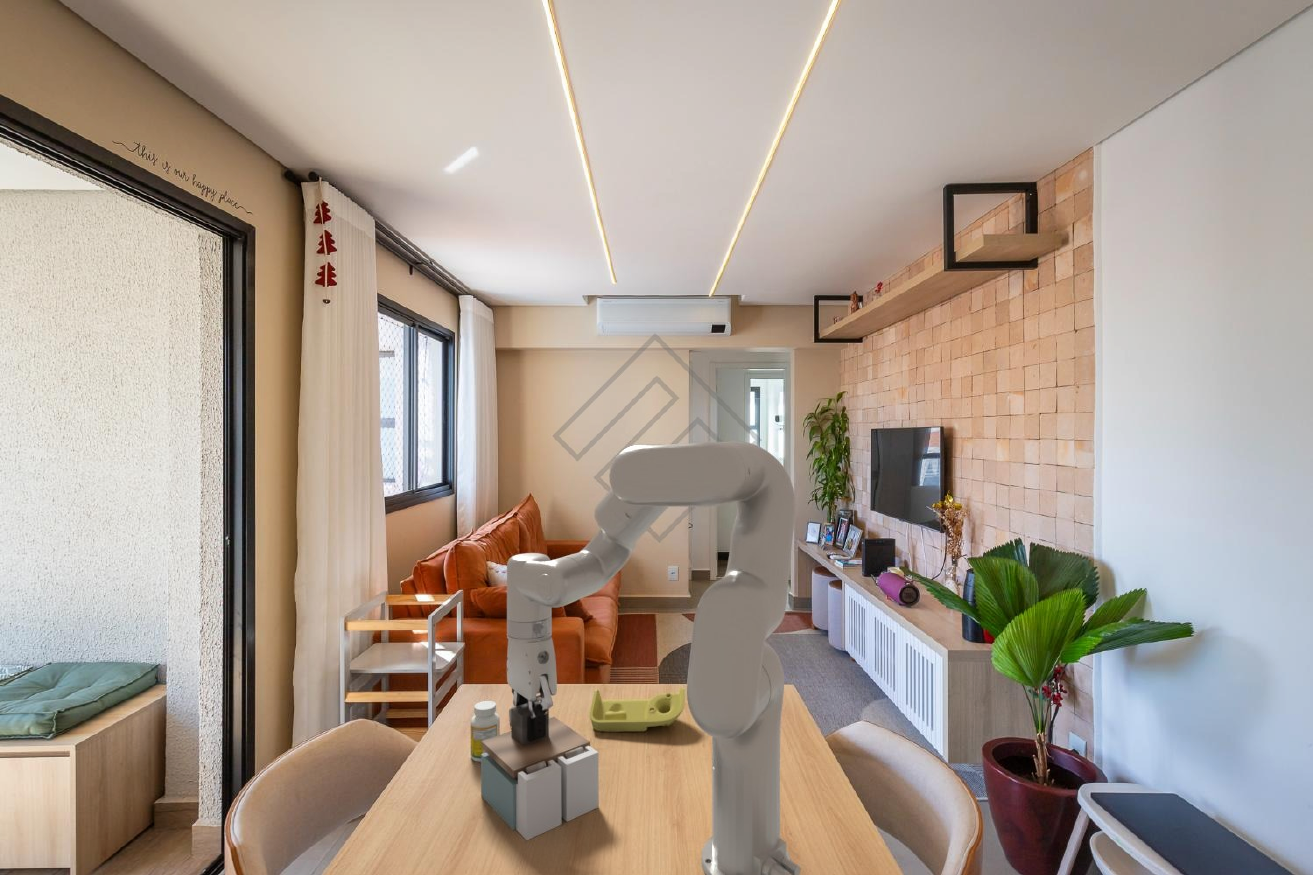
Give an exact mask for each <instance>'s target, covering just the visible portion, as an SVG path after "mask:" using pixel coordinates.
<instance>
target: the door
mask: <svg viewBox="0 0 1313 875" xmlns="http://www.w3.org/2000/svg"><path fill="white" fill-rule="evenodd" d="M540 703H541V702H540V701H537V702H535V708H536V706H537V705H538V704H540ZM510 709H511V724H510V727H511V731H508V732H504V733H501V734H500V735H498V736H495V737H492V738H489V739H486V740H483V741H482V749H483V750H484V751H485V752H486V753H487V754H488V755H489V756H490V757H492V758H493V759H494V760H495V761H496V762H497V763H498V764H499V765H500V766H501V767H502V768H503V769H504V770H505V771H506V772H507V773H508V774H510V775H511V776H512V777H513V778H516V777H518V773H519V772H522V771H523V772H524V773H525V774H527V775H528V774H531V773H533V772H536V771H538V770H541V769H543V768H546V766H547V765H548V761H550V760H553V761H554V762H557V761H558V757H561V756H563V757H564V758H565V759H569V758H572V757H574V756H577V755H579V754H582V753H584V751H585V747H587V746H590V747H591V741H590V740H588V739H587V738H585V737H584V736H582V735H581V734H580V733H578V732H577V731H576V730H574V729H572V727H570V726H568V725H567V724H565V723H564V722H563V721H561V720H560V719H558V718H557V717H556V716H553V717H552V716H551V717H552V718H549V717H550V712H549V710H550V708H549V709H548V710H547V714H546V736H545V737H543V738H540V739H537V740H535V741H532V742H529V741H528V739H527V717H530V714H529V703H526V704H523V705H519V706H516V707H515V706H512V707H511V708H510Z"/></svg>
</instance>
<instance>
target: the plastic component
mask: <svg viewBox="0 0 1313 875" xmlns="http://www.w3.org/2000/svg"><path fill="white" fill-rule="evenodd" d="M685 703H686V688H685V687H681V688H680V689H679V690H678V692H676V693H671V692H666V693H659V694H656V695H654V696H652V697H650V698H639V699H638V698H634V699H633V698H632V699H631V698H629V699H624V698H623V699H622V698H621V699H602V697H601V693H600V690H599V689H594V692H593V697H592V701H591V706H590V710H589V718H590V723H591V725H592V728H593V729H594V730H595V731H597V732H601V731H605V732H606V731H607V732H606V733H608V732H611V733H612V732H645V731H647V730H648V728H649V727H659V726H662V727H671V726H670V725H672V724H674V721H676V720H677V719H678V718H679V717H680V715H681V714H682V713H683V711H684V708H685Z"/></svg>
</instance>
